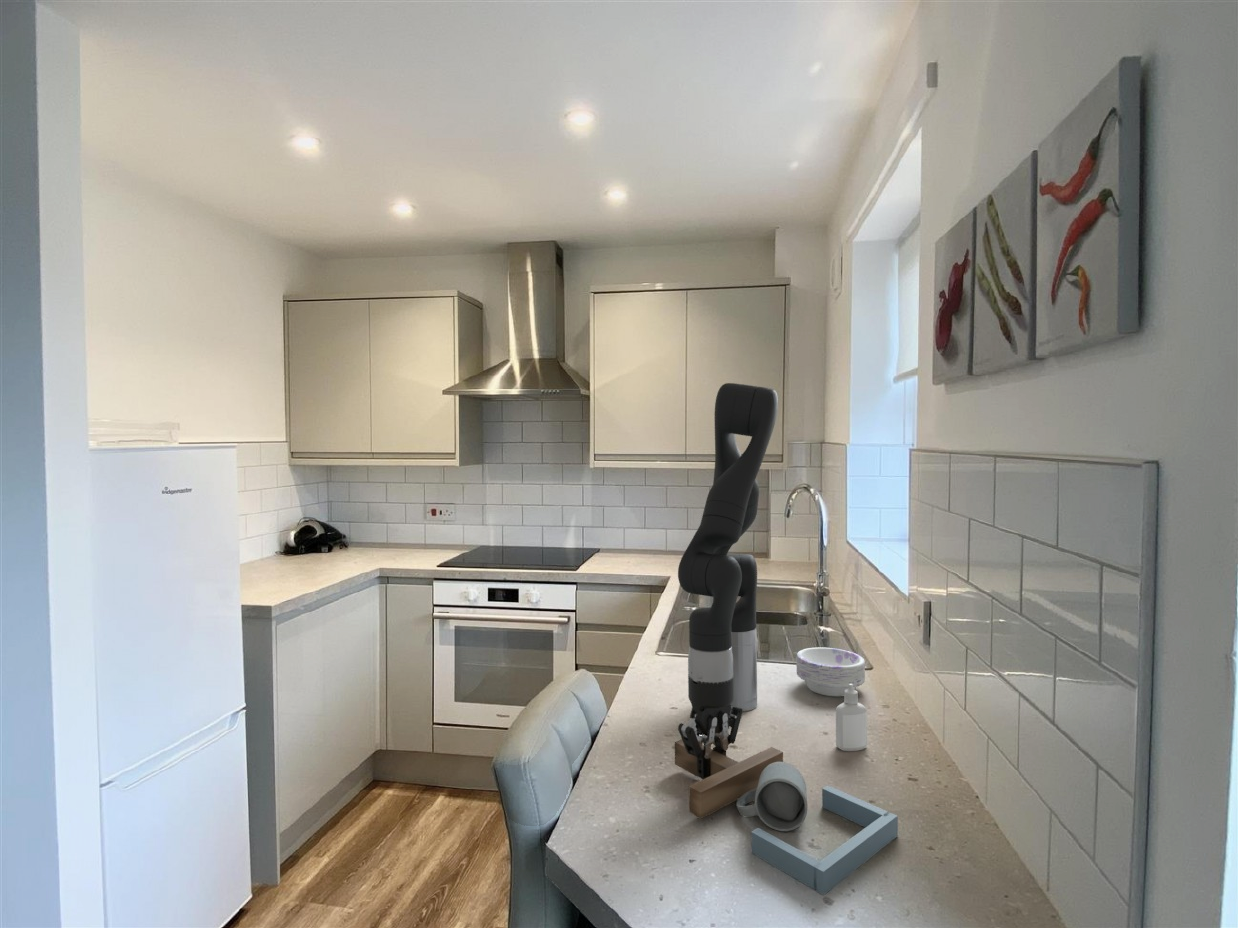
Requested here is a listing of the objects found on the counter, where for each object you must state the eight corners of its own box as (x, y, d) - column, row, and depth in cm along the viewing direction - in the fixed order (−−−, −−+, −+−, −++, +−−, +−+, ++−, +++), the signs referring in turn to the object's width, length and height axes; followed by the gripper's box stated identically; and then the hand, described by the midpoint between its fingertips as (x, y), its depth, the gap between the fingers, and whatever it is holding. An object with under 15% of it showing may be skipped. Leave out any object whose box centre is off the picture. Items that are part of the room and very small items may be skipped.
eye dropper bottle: (868, 754, 120) (868, 689, 120) (836, 750, 122) (835, 687, 121) (866, 743, 124) (865, 681, 124) (835, 740, 126) (834, 678, 126)
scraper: (637, 780, 109) (637, 756, 109) (719, 744, 122) (719, 723, 122) (700, 818, 98) (700, 792, 98) (783, 775, 110) (783, 751, 110)
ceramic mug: (806, 805, 103) (805, 757, 103) (808, 834, 95) (806, 782, 95) (738, 798, 106) (737, 751, 106) (734, 826, 98) (733, 776, 98)
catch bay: (751, 852, 92) (751, 831, 92) (827, 803, 104) (827, 785, 104) (823, 894, 83) (823, 871, 83) (897, 835, 95) (897, 815, 95)
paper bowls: (872, 685, 154) (871, 652, 154) (855, 707, 142) (855, 670, 142) (808, 673, 163) (807, 642, 163) (787, 693, 150) (787, 659, 150)
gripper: (722, 658, 116) (723, 753, 117) (664, 676, 108) (665, 779, 108) (755, 668, 111) (756, 769, 111) (697, 688, 102) (698, 798, 102)
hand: (711, 773), depth 110 cm, fingers closed on scraper, 3 cm apart
